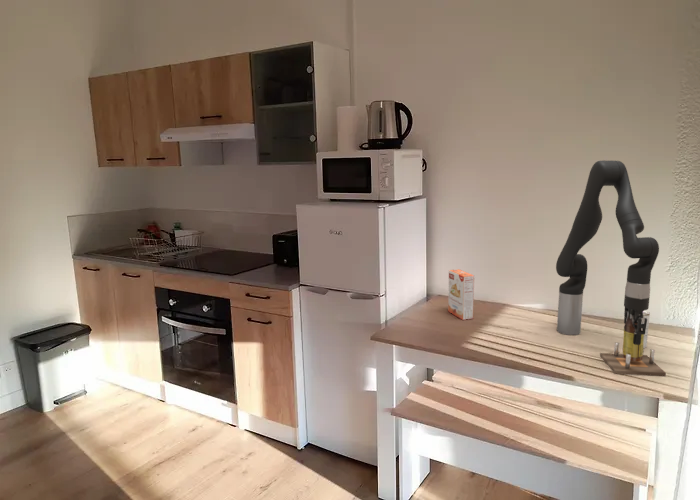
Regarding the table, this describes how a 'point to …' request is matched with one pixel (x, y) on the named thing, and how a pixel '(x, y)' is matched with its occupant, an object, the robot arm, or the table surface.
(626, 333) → the sauce bottle
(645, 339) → the syrup box
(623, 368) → the board
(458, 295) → the cracker box
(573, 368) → the table surface
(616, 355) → the metal pins
